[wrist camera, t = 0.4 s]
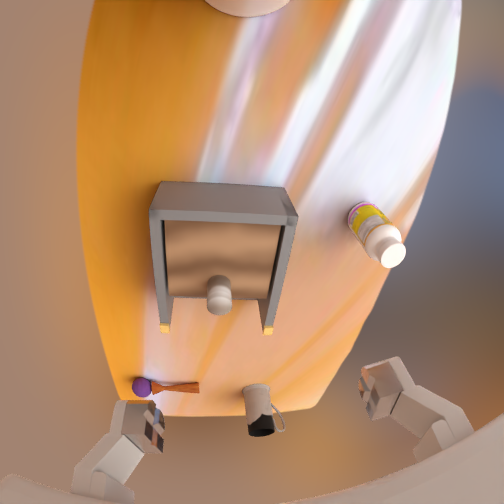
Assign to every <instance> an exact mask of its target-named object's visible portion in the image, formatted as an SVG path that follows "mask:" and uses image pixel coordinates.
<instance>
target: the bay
mask: <svg viewBox="0 0 504 504" xmlns="http://www.w3.org/2000/svg"><path fill="white" fill-rule="evenodd" d="M164 220H181V221H207V222H230V223H250V224H268V225H281V229H280V234H279V239H278V244H277V249H276V254H275V259H274V264H273V269H272V274H271V279H270V284H269V289H268V294H267V299H259V298H232V299H245V300H258V305H259V311H260V317H261V323H262V330H263V335H272V332H273V323H274V319H275V315H276V311H277V307H278V303H279V299H280V295H281V290H282V286H283V282H284V278H285V274H286V270H287V265H288V261H289V257H290V252H291V248H292V243H293V239H294V235H295V230H296V225H297V221H298V215H297V213H296V211H295V209H294V207H293V205H292V202H291V200H290V198H289V196H288V194H287V192H286V190H285V188H280V187H268V186H255V185H240V184H223V183H201V182H171V181H161V183H160V185H159V187H158V190H157V192H156V194H155V196H154V198H153V201H152V203H151V205H150V208H149V223H150V237H151V249H152V259H153V269H154V278H155V287H156V295H157V302H158V310H159V317H160V330H161V333H170V324H171V316H172V308H173V300H174V297H179V298H205V299H207V297H184V296H169V287H168V274H167V260H166V243H165V221H164Z"/></svg>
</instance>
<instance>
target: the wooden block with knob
mask: <svg viewBox="0 0 504 504" xmlns="http://www.w3.org/2000/svg"><path fill="white" fill-rule="evenodd" d="M164 221H165V243H166V260H167V274H168V287H169V296H184V297H207V309H208V311H209V312H210V313H212V314H215V315H224V314H227V313H228V312H230V311H231V309H232V298H259V299H267V294H268V289H269V284H270V279H271V274H272V269H273V264H274V259H275V254H276V249H277V244H278V239H279V234H280V229H281V225H268V224H250V223H230V222H207V221H181V220H164Z"/></svg>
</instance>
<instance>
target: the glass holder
mask: <svg viewBox="0 0 504 504" xmlns="http://www.w3.org/2000/svg"><path fill="white" fill-rule="evenodd" d="M269 391H270V387H269V386H268V385H265V384H253V385H249V386H247V387H245V388H244V389H243V390H242V393H243V394H244V399H245V409H246V419H247V425H248V432H249V435H250V436H255V437H260V436H267V435H270V434H272V433H274V428H275V429H276V430H277V431H278V432H282V431H284V430H285V423H284V419H283V417H282V415H281V414H280V412H279V411H278V409H277V408H276V407H275V406H274V405H273V404H272V403H271V401H270V395H269ZM271 406H272V407H273V408H274V409H275V410H276V412H277V413H278V414H279V416H280V418H281V420H282V423H283V430H282V431H280V430H279V429H278V428H277V427H276V424H275V420H274V419H273V418H272V417H273V414H272V407H271Z"/></svg>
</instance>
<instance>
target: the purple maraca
mask: <svg viewBox="0 0 504 504" xmlns="http://www.w3.org/2000/svg"><path fill="white" fill-rule="evenodd" d="M132 390H133V392H134V393H135V394H136V395H137V396H139V397H147V396H148V395H149V394H150V393H151V391H152V394H153V395H154V394H156V393H159V392H161V391H163V390H169V391H178V392H189V393H199V383H191V384H183V385H174V386H162V385H160V384H158V383H155V382H153V381H152V386H151V383H150V382H149V381H148V380H147V379H144V378H138V379H136V380H135V381H134V382H133V384H132Z"/></svg>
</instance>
